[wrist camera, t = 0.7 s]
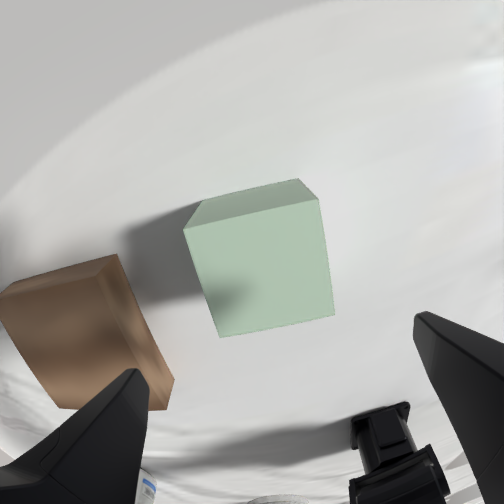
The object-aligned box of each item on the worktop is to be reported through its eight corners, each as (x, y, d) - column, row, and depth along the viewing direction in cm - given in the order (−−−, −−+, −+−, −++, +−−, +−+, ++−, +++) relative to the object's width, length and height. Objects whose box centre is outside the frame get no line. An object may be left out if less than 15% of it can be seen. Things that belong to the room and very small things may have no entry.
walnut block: (175, 376, 25) (166, 410, 21) (73, 381, 26) (58, 408, 22) (118, 251, 21) (95, 276, 17) (16, 280, 22) (-9, 301, 18)
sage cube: (314, 265, 21) (335, 314, 15) (227, 284, 21) (219, 338, 16) (298, 178, 18) (318, 198, 13) (203, 199, 19) (182, 229, 13)
